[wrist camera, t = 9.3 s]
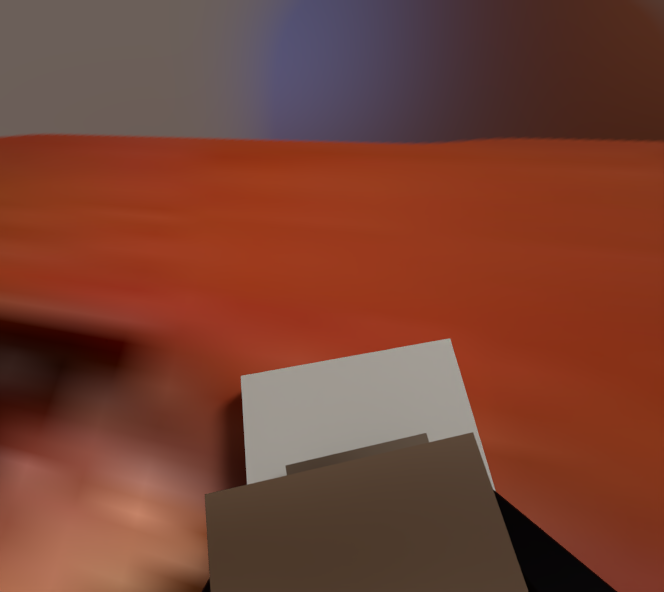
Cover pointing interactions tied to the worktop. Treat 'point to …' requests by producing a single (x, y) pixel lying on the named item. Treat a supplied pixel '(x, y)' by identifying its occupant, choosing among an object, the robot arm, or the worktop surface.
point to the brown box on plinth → (366, 524)
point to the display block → (352, 406)
